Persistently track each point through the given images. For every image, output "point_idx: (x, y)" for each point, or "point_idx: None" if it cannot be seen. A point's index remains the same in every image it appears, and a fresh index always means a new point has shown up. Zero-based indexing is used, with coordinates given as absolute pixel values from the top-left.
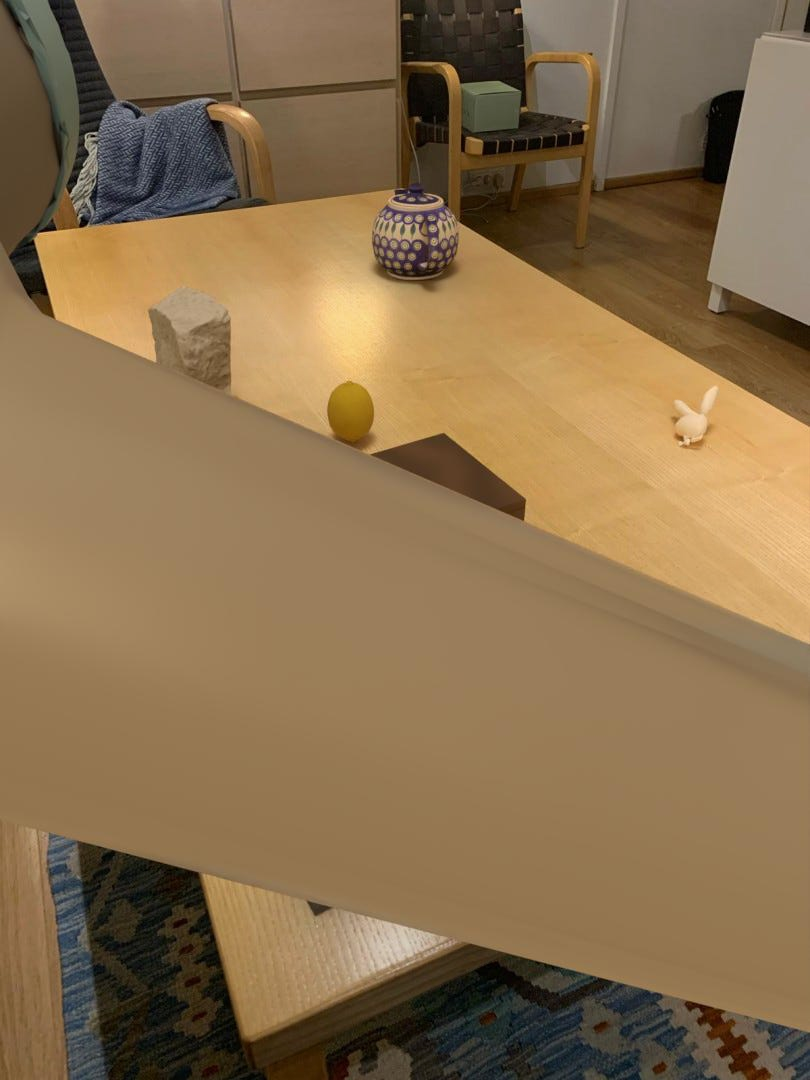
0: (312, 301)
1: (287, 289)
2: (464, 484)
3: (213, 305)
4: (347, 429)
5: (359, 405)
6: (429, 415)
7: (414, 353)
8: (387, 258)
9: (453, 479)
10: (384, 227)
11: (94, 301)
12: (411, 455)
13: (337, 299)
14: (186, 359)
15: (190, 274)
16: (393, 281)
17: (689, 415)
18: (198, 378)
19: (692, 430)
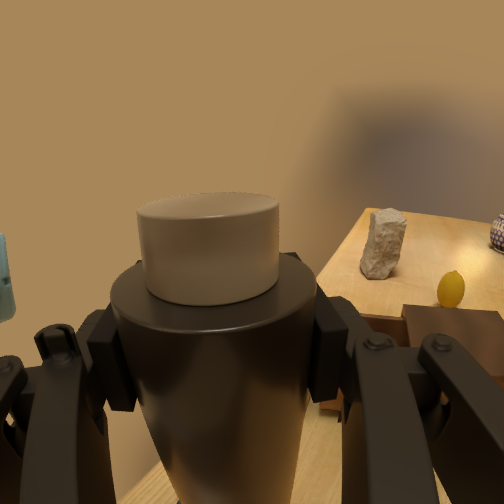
0: (457, 248)
1: (449, 242)
2: (497, 348)
3: (400, 216)
4: (445, 299)
5: (456, 286)
6: (493, 310)
7: (495, 280)
8: (495, 239)
9: (492, 342)
10: (496, 224)
11: (368, 226)
12: (471, 317)
13: (469, 250)
14: (376, 237)
15: (412, 228)
16: (495, 251)
17: None
18: (380, 250)
19: None
